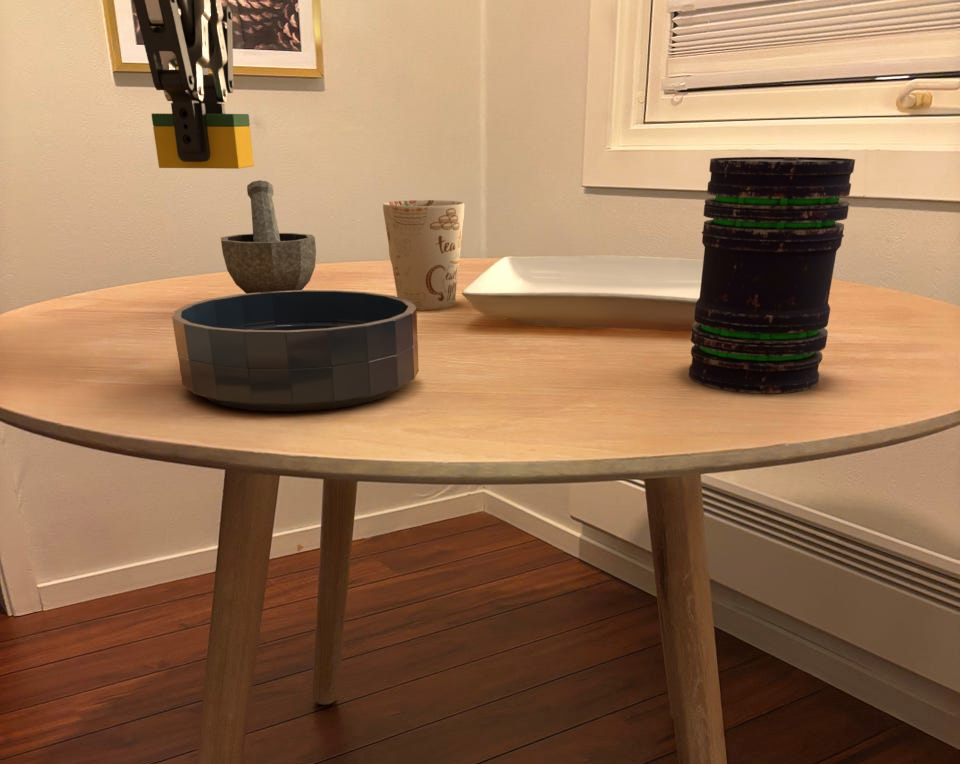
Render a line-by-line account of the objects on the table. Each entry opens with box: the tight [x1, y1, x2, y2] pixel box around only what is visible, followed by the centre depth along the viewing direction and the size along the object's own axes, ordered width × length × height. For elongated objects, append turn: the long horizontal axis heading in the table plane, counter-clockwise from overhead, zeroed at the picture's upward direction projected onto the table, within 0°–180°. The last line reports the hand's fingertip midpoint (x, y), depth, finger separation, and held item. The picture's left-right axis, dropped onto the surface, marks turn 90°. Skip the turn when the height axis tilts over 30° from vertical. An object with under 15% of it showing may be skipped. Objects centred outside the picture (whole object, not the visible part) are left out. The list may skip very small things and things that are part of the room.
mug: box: [382, 199, 465, 311], centre depth 101 cm, size 8×13×10 cm, turn 33°
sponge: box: [151, 113, 255, 170], centre depth 70 cm, size 6×4×4 cm, turn 86°
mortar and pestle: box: [220, 179, 317, 294], centre depth 98 cm, size 11×9×12 cm
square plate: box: [461, 255, 704, 332], centre depth 97 cm, size 27×27×4 cm
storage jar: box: [688, 156, 856, 394], centre depth 69 cm, size 10×10×15 cm
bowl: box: [171, 289, 420, 412], centre depth 70 cm, size 17×17×6 cm
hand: (205, 158), depth 71 cm, fingers closed on sponge, 4 cm apart
